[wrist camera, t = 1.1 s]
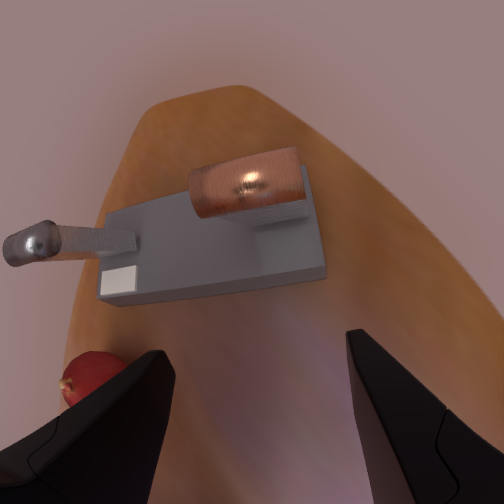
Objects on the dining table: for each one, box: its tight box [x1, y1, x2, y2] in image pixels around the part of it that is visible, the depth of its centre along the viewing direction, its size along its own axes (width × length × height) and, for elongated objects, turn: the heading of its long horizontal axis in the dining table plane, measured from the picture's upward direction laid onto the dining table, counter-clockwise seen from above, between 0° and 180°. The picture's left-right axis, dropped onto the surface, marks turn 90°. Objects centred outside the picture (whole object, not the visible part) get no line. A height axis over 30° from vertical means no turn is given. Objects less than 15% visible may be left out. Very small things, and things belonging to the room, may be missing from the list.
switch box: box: [97, 165, 326, 307], centre depth 23 cm, size 8×18×3 cm, turn 95°
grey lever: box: [3, 220, 137, 267], centre depth 18 cm, size 2×4×10 cm, turn 95°
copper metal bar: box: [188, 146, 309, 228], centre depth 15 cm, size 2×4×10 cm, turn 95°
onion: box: [59, 351, 128, 407], centre depth 18 cm, size 6×6×8 cm
